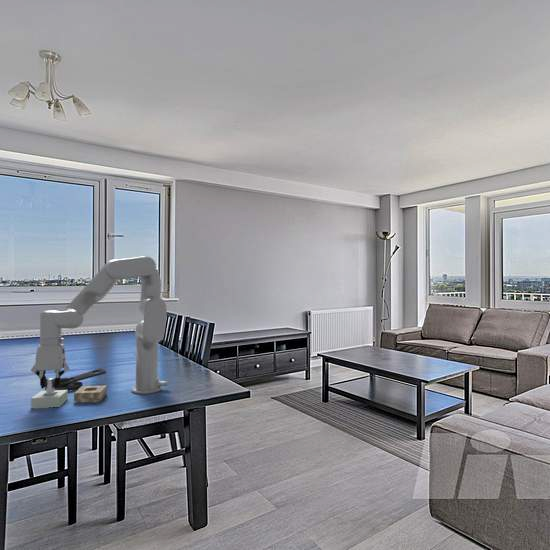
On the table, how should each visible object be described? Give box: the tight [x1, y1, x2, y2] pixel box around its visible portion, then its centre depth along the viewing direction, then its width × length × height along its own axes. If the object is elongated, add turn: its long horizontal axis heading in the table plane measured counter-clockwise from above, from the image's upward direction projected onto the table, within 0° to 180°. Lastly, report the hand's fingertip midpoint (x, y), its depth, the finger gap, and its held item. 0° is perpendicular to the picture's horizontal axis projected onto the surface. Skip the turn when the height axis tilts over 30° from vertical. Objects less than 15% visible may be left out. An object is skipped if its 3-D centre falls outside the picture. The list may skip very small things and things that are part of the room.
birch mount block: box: [73, 385, 107, 403], centre depth 169 cm, size 10×10×4 cm
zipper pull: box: [44, 368, 107, 392], centre depth 184 cm, size 9×7×25 cm
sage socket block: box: [30, 390, 69, 409], centre depth 162 cm, size 10×10×4 cm
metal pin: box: [46, 377, 56, 396], centre depth 162 cm, size 3×3×10 cm
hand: (50, 386), depth 162 cm, fingers open, 4 cm apart
